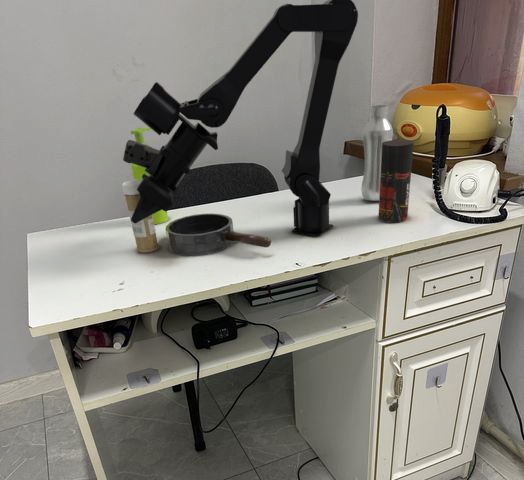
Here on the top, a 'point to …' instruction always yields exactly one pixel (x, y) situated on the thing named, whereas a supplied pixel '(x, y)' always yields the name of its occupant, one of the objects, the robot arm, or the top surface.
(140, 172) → the soap dispenser
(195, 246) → the pan
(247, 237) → the pan handle
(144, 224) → the sprinkles bottle
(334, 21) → the robot arm
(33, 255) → the top surface
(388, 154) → the deodorant
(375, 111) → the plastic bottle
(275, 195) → the top surface
